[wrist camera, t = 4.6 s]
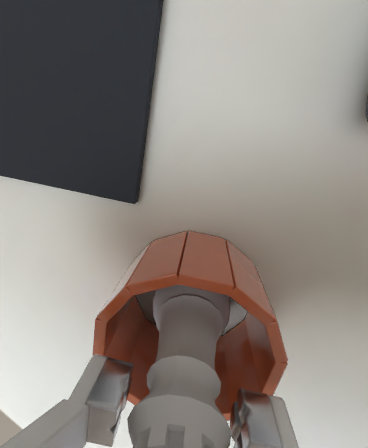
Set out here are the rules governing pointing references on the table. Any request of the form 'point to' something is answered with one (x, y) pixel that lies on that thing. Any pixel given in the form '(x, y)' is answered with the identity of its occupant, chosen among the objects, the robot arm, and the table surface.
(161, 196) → the table surface
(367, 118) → the paintbrush
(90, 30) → the pad
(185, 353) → the rook chess piece
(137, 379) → the brown hollow cylinder
